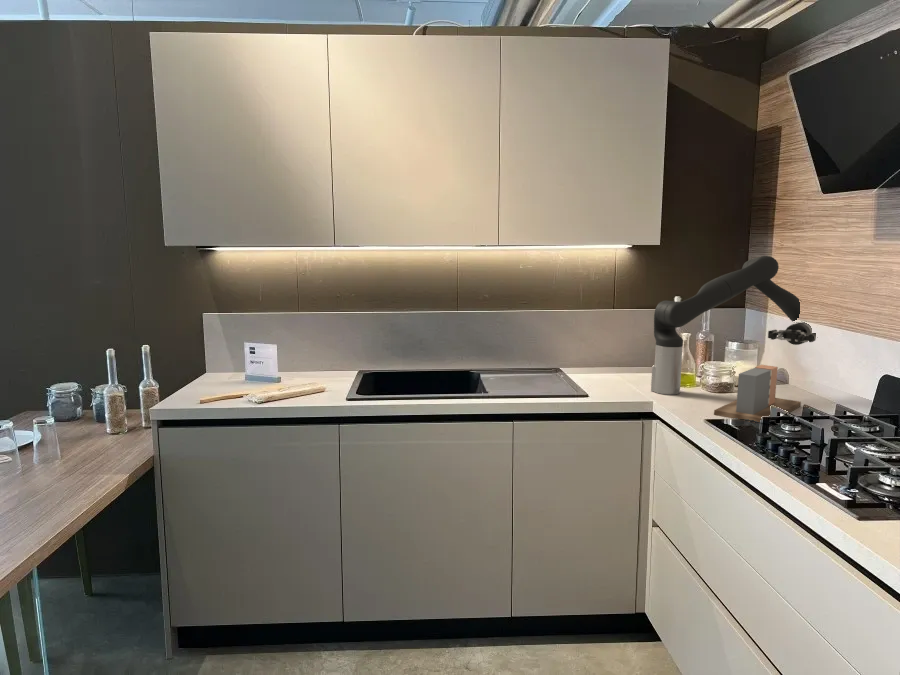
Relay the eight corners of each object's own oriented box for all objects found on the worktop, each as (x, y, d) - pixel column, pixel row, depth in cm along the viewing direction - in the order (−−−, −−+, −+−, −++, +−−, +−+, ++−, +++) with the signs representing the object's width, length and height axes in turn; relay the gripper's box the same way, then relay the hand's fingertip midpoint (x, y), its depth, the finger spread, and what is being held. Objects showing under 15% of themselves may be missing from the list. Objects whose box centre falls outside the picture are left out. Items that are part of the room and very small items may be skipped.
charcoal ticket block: (736, 411, 192) (738, 373, 190) (751, 403, 202) (754, 367, 200) (753, 414, 188) (756, 376, 187) (768, 406, 198) (771, 370, 197)
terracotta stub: (752, 403, 202) (755, 367, 201) (758, 400, 207) (761, 364, 205) (768, 405, 199) (771, 369, 197) (774, 402, 203) (777, 366, 201)
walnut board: (713, 414, 194) (714, 410, 194) (750, 397, 217) (750, 393, 216) (768, 425, 183) (769, 420, 183) (800, 406, 206) (800, 401, 205)
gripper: (779, 321, 228) (764, 325, 217) (822, 324, 218) (809, 328, 207) (777, 341, 229) (762, 346, 218) (820, 345, 219) (807, 351, 208)
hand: (785, 337), depth 212 cm, fingers open, 8 cm apart
